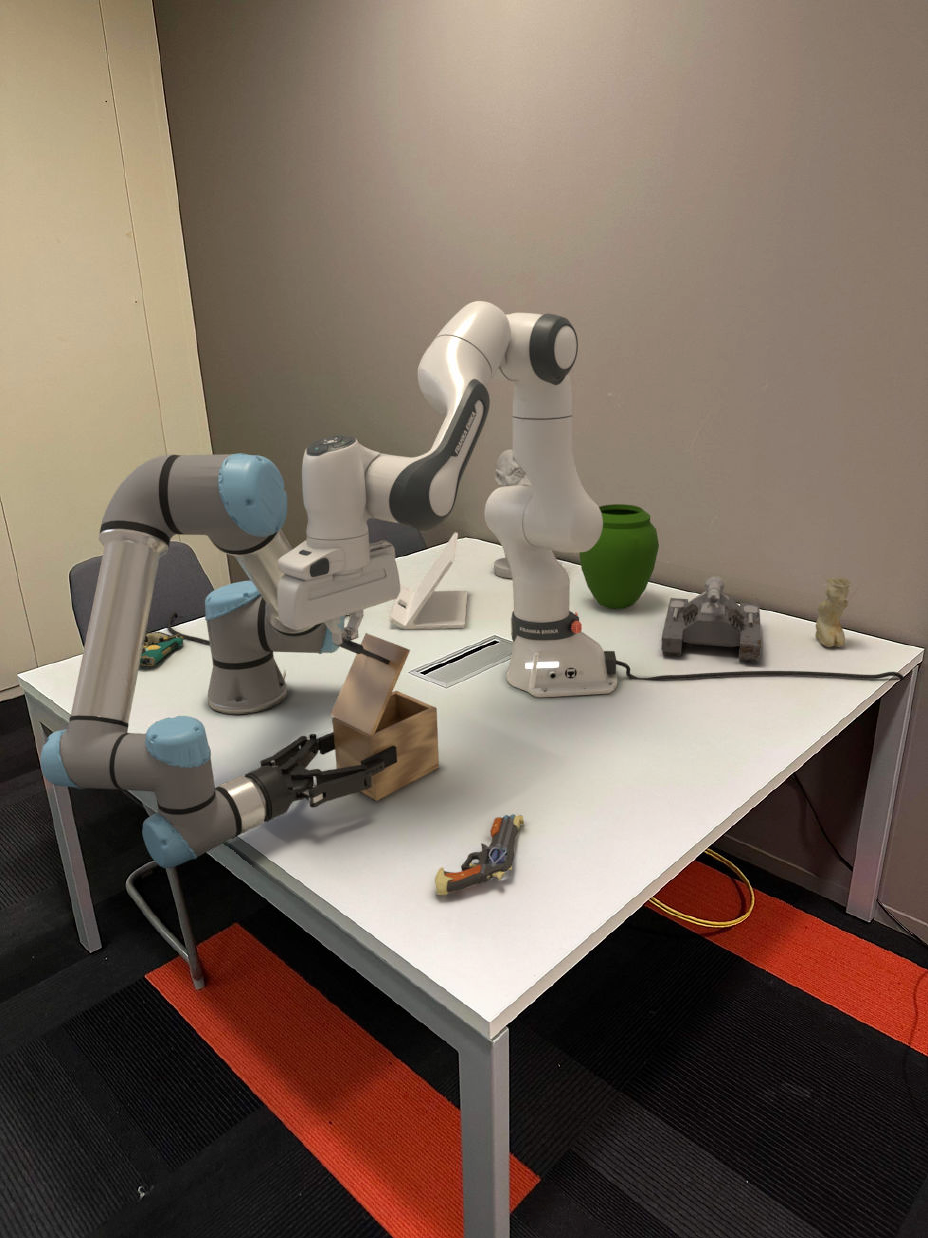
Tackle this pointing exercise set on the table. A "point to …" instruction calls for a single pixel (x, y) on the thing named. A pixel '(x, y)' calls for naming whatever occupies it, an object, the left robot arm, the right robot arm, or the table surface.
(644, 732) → the table surface
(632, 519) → the vase
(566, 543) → the right robot arm
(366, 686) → the lid
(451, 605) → the tablet stand
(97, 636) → the left robot arm
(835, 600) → the sculpture
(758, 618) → the toy
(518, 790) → the table surface
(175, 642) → the spray gun
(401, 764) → the chest
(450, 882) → the toy gun
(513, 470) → the bust sculpture
